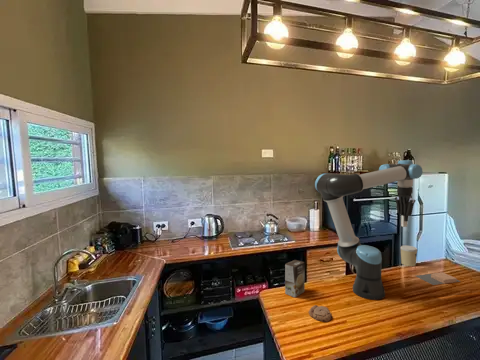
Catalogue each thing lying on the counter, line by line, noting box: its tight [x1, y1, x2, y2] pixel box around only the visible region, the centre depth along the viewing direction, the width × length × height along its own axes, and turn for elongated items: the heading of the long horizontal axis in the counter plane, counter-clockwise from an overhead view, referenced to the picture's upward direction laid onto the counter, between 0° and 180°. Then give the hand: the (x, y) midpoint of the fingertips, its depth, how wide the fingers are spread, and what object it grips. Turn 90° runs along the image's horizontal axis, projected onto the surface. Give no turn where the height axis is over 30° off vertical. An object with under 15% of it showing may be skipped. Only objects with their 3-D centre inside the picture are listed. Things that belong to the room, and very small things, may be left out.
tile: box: [430, 272, 457, 284], centre depth 150 cm, size 8×2×8 cm
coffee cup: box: [400, 245, 418, 267], centre depth 173 cm, size 9×9×12 cm
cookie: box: [308, 304, 333, 323], centre depth 120 cm, size 10×11×3 cm
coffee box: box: [284, 259, 306, 298], centre depth 141 cm, size 9×6×16 cm
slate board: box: [415, 272, 461, 286], centre depth 152 cm, size 18×12×1 cm, turn 101°
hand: (404, 226), depth 158 cm, fingers closed
